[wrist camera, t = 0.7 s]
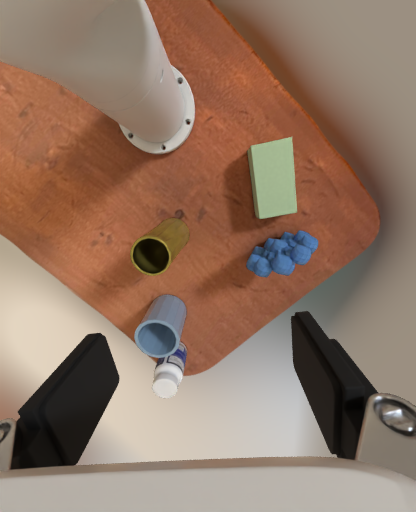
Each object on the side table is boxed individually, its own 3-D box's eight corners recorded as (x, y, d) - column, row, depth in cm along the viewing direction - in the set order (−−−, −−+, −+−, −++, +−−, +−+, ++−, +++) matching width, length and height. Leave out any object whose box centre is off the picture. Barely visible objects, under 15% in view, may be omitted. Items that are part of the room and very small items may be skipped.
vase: (192, 221, 39) (178, 238, 25) (186, 252, 41) (170, 283, 27) (159, 214, 39) (128, 227, 25) (155, 246, 41) (124, 274, 27)
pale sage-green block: (247, 150, 35) (250, 145, 31) (283, 142, 34) (292, 136, 31) (255, 216, 38) (259, 219, 34) (289, 210, 38) (297, 212, 34)
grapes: (250, 274, 42) (262, 306, 30) (237, 244, 40) (245, 265, 28) (308, 252, 40) (345, 277, 28) (298, 219, 38) (332, 231, 27)
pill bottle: (167, 361, 49) (155, 403, 40) (158, 342, 48) (144, 380, 38) (190, 357, 48) (184, 397, 39) (182, 336, 47) (173, 374, 37)
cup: (146, 297, 44) (128, 323, 36) (182, 291, 43) (173, 316, 35) (155, 328, 46) (141, 360, 38) (190, 324, 46) (183, 354, 37)
